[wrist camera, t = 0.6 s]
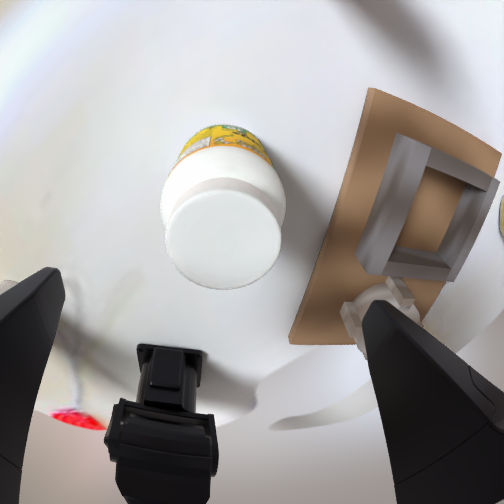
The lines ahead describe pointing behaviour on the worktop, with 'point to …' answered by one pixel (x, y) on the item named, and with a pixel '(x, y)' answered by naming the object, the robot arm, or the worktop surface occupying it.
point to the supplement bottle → (223, 209)
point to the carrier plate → (397, 220)
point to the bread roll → (502, 216)
